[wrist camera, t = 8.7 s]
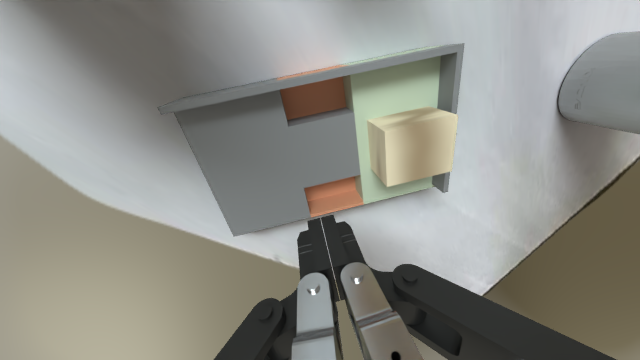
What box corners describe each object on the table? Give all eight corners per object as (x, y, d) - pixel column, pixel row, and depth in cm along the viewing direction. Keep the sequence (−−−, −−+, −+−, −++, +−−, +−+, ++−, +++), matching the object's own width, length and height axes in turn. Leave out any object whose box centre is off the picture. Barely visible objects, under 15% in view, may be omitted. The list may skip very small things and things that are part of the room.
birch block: (428, 106, 21) (458, 114, 18) (425, 155, 24) (451, 171, 20) (366, 119, 21) (384, 131, 17) (370, 168, 23) (387, 187, 20)
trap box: (426, 47, 22) (464, 43, 17) (421, 174, 28) (447, 195, 24) (183, 97, 20) (157, 107, 16) (238, 219, 27) (230, 250, 23)
